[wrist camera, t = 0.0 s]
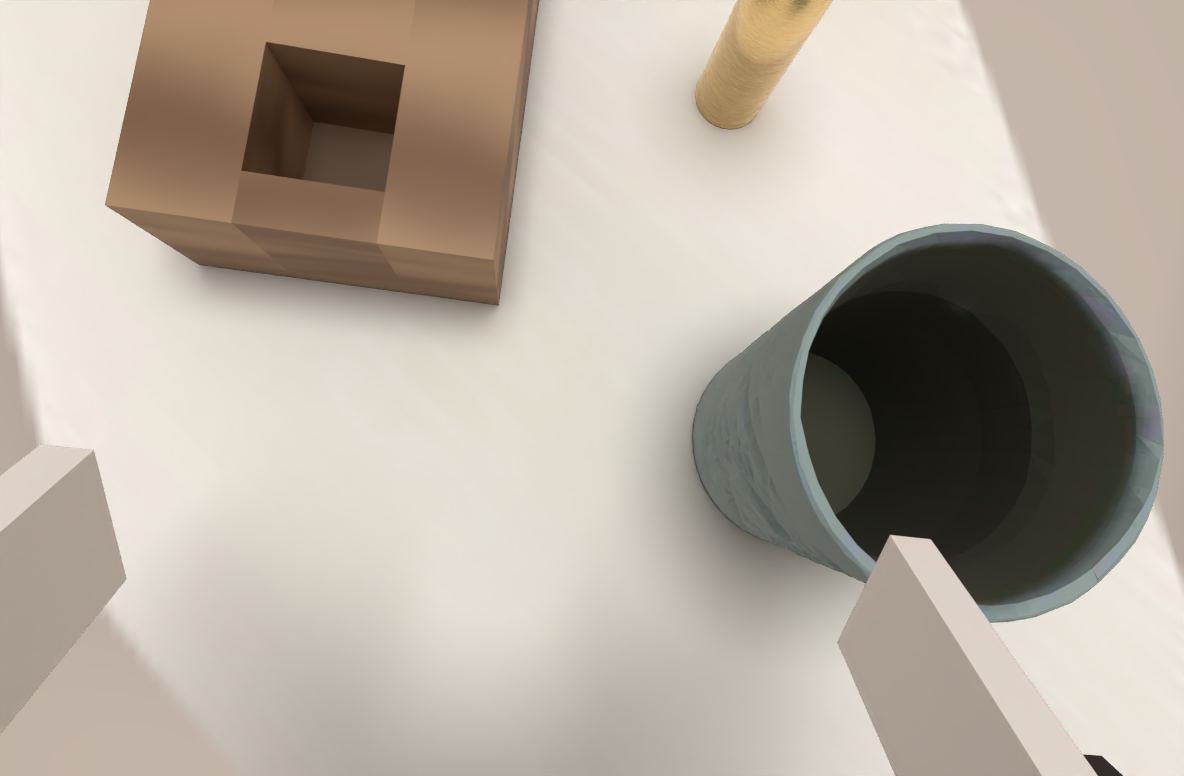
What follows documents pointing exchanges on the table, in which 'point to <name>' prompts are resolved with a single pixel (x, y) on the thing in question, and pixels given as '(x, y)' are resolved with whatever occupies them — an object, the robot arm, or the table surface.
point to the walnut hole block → (331, 138)
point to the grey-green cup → (945, 419)
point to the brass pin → (753, 57)
